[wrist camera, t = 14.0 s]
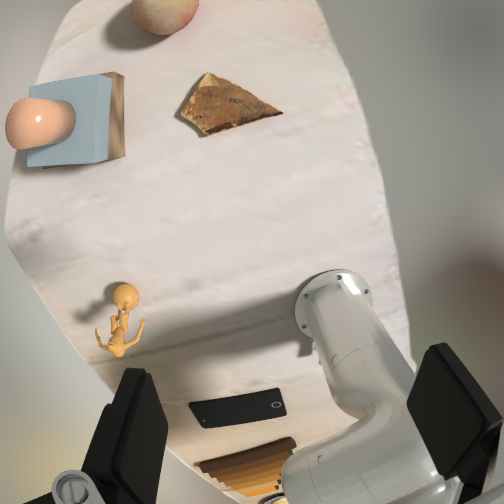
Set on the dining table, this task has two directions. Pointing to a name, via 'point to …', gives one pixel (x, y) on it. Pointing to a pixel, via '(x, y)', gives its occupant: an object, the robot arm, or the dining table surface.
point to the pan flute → (252, 468)
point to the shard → (224, 106)
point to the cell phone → (239, 409)
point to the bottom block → (114, 119)
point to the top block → (77, 121)
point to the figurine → (122, 320)
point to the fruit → (163, 14)
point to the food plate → (278, 500)
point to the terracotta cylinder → (39, 122)
